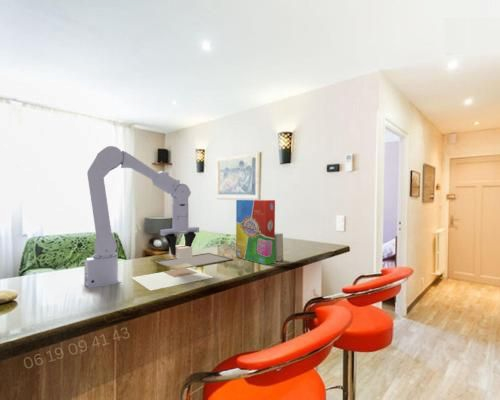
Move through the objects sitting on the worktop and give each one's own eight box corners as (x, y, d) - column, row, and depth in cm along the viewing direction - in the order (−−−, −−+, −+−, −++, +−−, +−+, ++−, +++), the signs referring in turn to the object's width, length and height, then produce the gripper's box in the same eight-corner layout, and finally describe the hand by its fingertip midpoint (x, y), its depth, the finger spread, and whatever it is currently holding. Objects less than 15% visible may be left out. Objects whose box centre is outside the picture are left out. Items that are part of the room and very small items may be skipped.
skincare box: (283, 260, 125) (283, 233, 125) (276, 262, 123) (276, 234, 123) (273, 258, 130) (273, 232, 130) (266, 259, 127) (266, 232, 127)
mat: (150, 291, 83) (150, 290, 83) (130, 278, 97) (130, 277, 97) (213, 278, 97) (213, 276, 97) (188, 268, 111) (188, 267, 111)
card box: (169, 255, 105) (169, 245, 105) (181, 254, 108) (181, 244, 108) (179, 259, 99) (179, 248, 99) (192, 257, 102) (192, 247, 102)
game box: (235, 257, 133) (235, 199, 133) (244, 255, 136) (244, 199, 136) (266, 265, 117) (266, 199, 117) (275, 263, 120) (275, 199, 120)
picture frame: (208, 254, 141) (154, 263, 122) (208, 252, 141) (154, 261, 122) (232, 260, 127) (175, 272, 108) (232, 258, 127) (175, 269, 108)
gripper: (166, 217, 96) (166, 257, 96) (203, 216, 105) (203, 252, 105) (157, 216, 101) (158, 254, 101) (194, 215, 110) (194, 250, 110)
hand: (180, 253), depth 103 cm, fingers closed on card box, 5 cm apart
